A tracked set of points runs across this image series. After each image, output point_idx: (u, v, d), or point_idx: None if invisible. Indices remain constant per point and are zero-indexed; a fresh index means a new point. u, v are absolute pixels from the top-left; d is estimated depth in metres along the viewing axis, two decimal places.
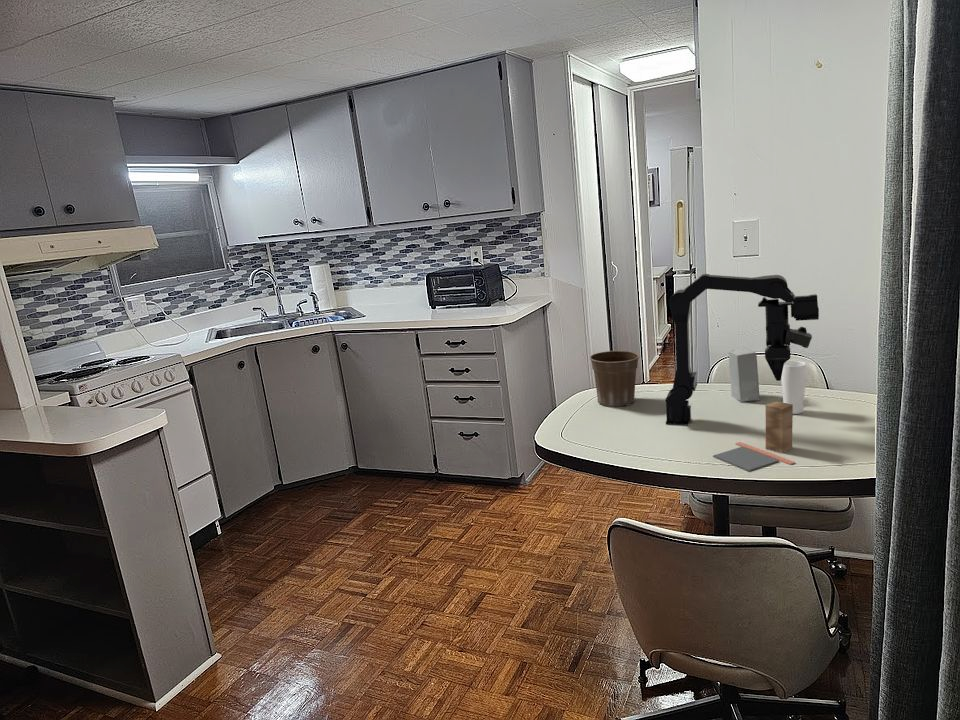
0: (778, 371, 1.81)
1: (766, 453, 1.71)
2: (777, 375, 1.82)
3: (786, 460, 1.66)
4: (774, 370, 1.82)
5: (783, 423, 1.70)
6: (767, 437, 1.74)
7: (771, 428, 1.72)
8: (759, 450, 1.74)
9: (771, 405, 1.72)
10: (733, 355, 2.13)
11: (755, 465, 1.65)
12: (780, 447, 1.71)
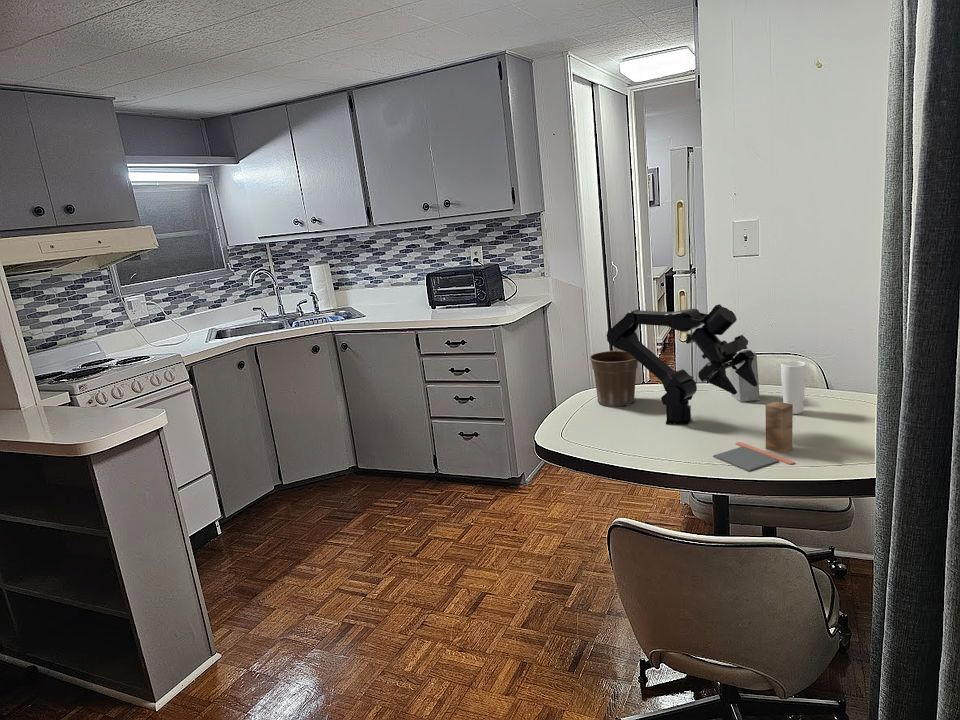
0: (727, 386, 1.79)
1: (766, 453, 1.71)
2: (730, 389, 1.79)
3: (786, 460, 1.66)
4: (723, 387, 1.80)
5: (783, 423, 1.70)
6: (767, 437, 1.74)
7: (771, 428, 1.72)
8: (759, 450, 1.74)
9: (771, 405, 1.72)
10: None
11: (755, 465, 1.65)
12: (780, 447, 1.71)
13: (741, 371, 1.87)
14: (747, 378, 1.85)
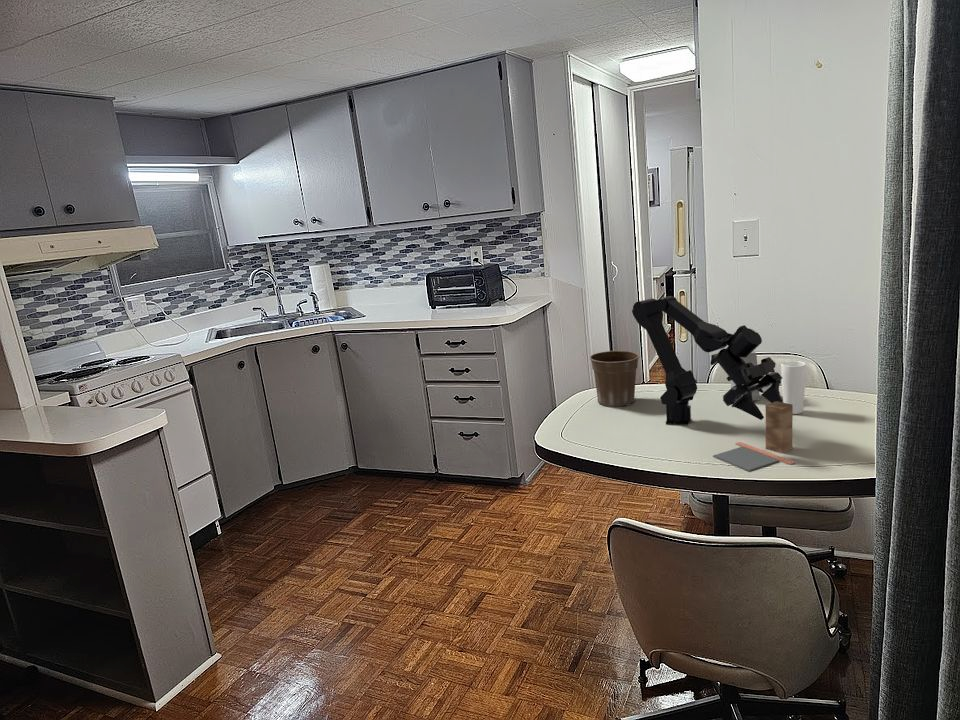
0: (753, 410, 1.72)
1: (766, 453, 1.71)
2: (756, 414, 1.72)
3: (786, 460, 1.66)
4: (749, 412, 1.73)
5: (783, 423, 1.70)
6: (767, 437, 1.74)
7: (771, 428, 1.72)
8: (759, 450, 1.74)
9: (771, 405, 1.72)
10: None
11: (755, 465, 1.65)
12: (780, 447, 1.71)
13: (768, 394, 1.79)
14: None
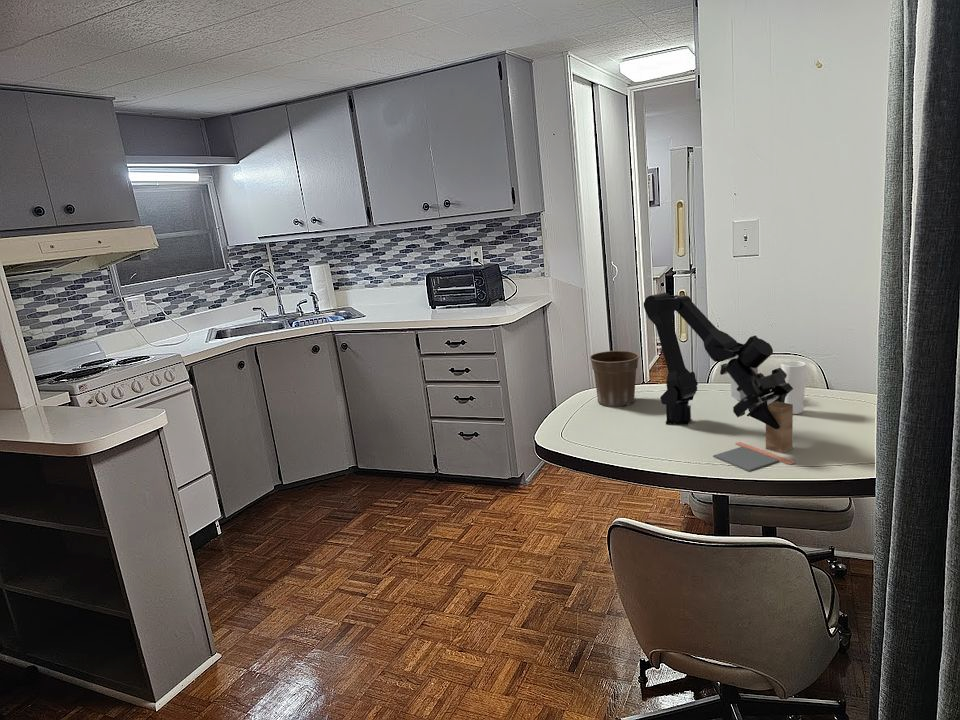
0: (768, 420, 1.71)
1: (766, 453, 1.71)
2: (772, 424, 1.71)
3: (786, 460, 1.66)
4: (765, 421, 1.72)
5: (783, 423, 1.70)
6: (767, 437, 1.74)
7: (771, 428, 1.72)
8: (759, 450, 1.74)
9: (771, 405, 1.72)
10: None
11: (755, 465, 1.65)
12: (780, 447, 1.71)
13: None
14: None
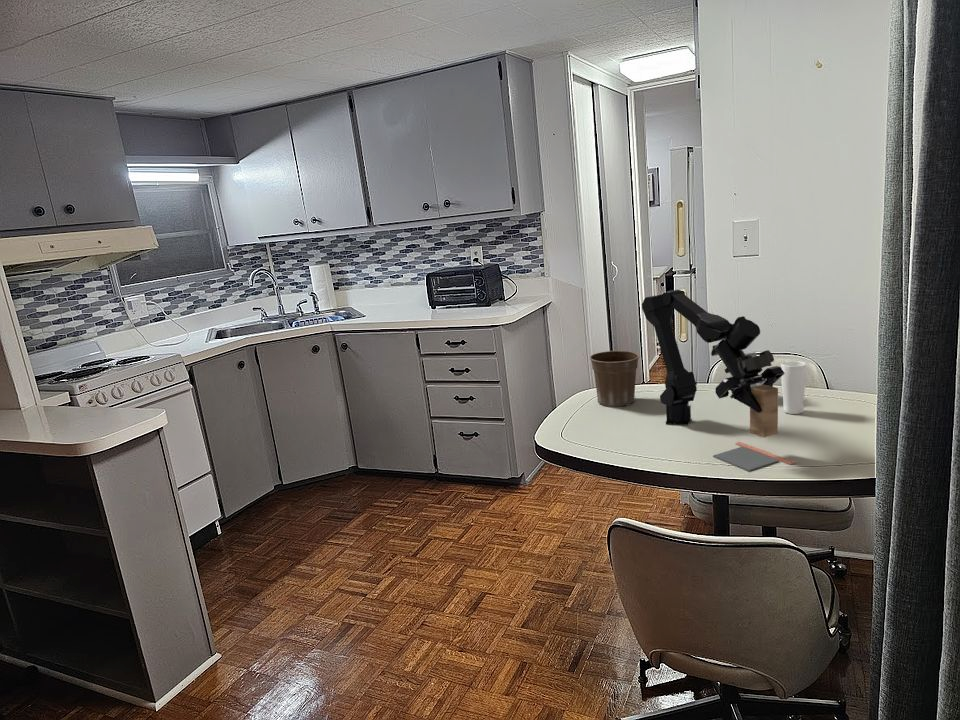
0: (751, 402, 1.68)
1: (766, 453, 1.71)
2: (754, 407, 1.67)
3: (786, 460, 1.66)
4: (748, 404, 1.68)
5: (765, 406, 1.66)
6: (751, 421, 1.70)
7: (755, 411, 1.68)
8: (759, 450, 1.74)
9: (755, 388, 1.68)
10: None
11: (755, 465, 1.65)
12: (762, 431, 1.67)
13: None
14: None
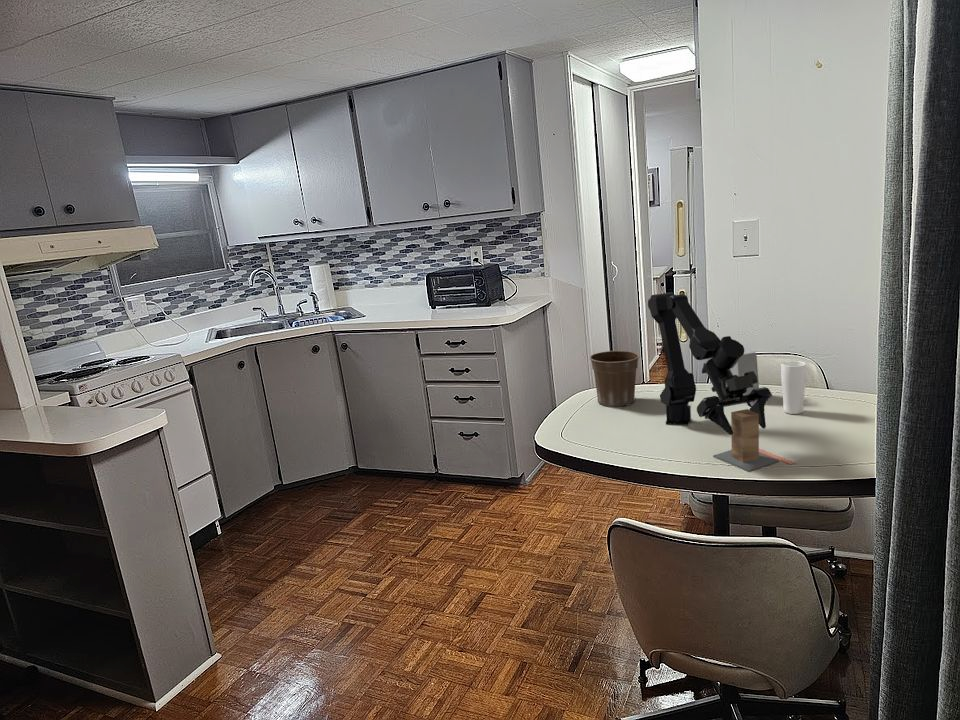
0: (723, 424, 1.67)
1: (766, 453, 1.71)
2: (726, 429, 1.67)
3: (786, 460, 1.66)
4: (721, 425, 1.68)
5: (744, 432, 1.65)
6: (732, 445, 1.70)
7: (735, 435, 1.68)
8: (759, 450, 1.74)
9: (736, 412, 1.68)
10: None
11: (755, 465, 1.65)
12: (741, 456, 1.67)
13: (753, 410, 1.72)
14: None
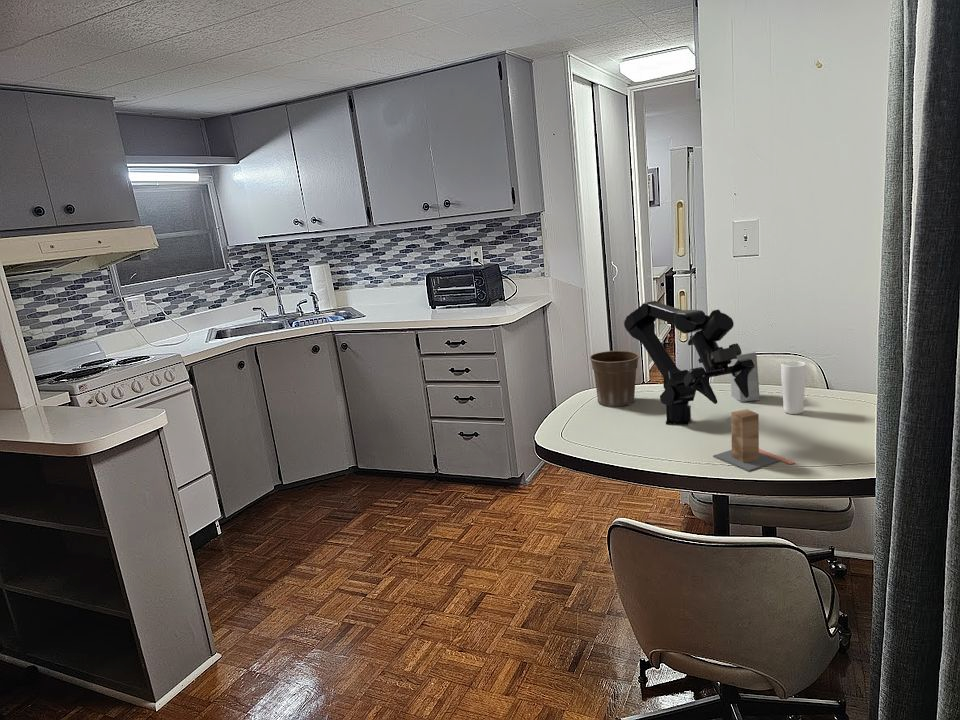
0: (708, 394, 1.76)
1: (766, 453, 1.71)
2: (711, 398, 1.76)
3: (786, 460, 1.66)
4: (706, 395, 1.77)
5: (744, 432, 1.65)
6: (732, 445, 1.70)
7: (735, 435, 1.68)
8: (759, 450, 1.74)
9: (736, 412, 1.68)
10: None
11: (755, 465, 1.65)
12: (741, 456, 1.67)
13: (738, 380, 1.80)
14: (741, 388, 1.79)
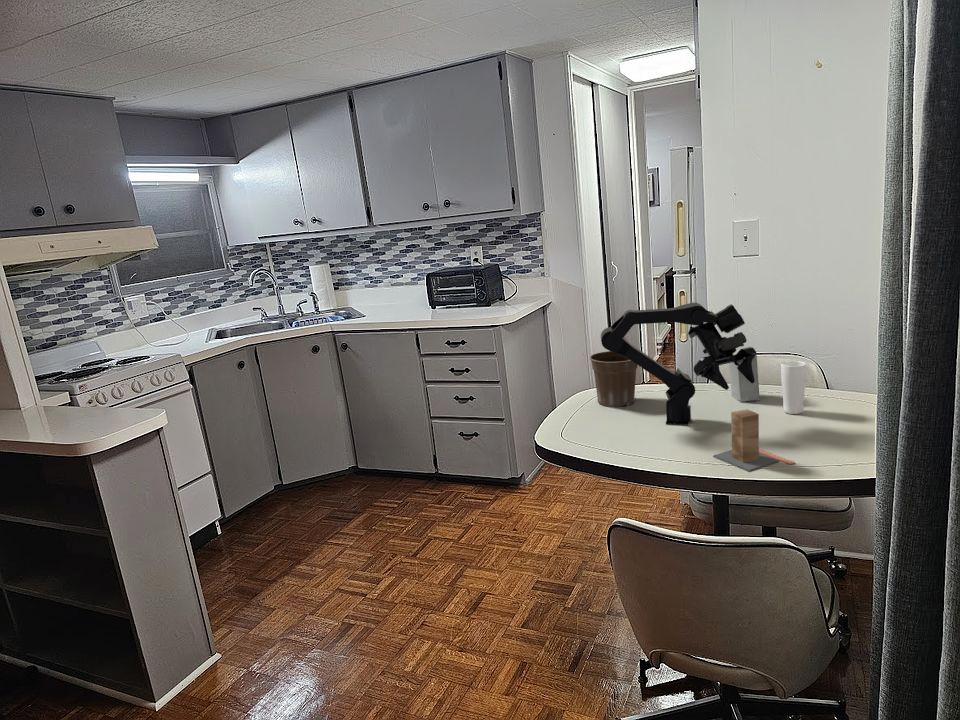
0: (719, 381, 1.84)
1: (766, 453, 1.71)
2: (722, 385, 1.84)
3: (786, 460, 1.66)
4: (717, 382, 1.85)
5: (744, 432, 1.65)
6: (732, 445, 1.70)
7: (735, 435, 1.68)
8: (759, 450, 1.74)
9: (736, 412, 1.68)
10: None
11: (755, 465, 1.65)
12: (741, 456, 1.67)
13: (741, 367, 1.91)
14: (746, 375, 1.89)
